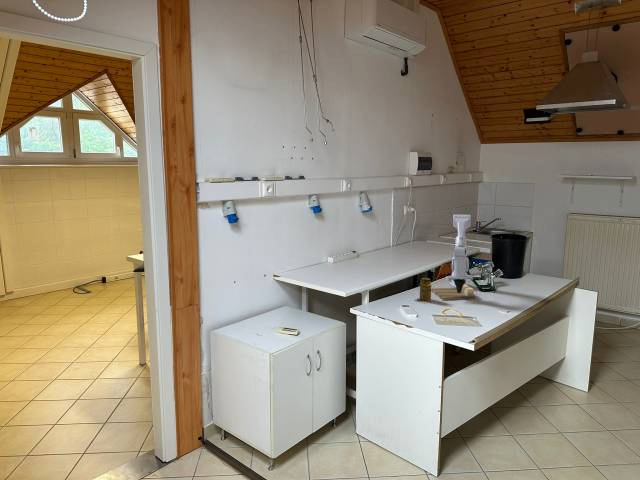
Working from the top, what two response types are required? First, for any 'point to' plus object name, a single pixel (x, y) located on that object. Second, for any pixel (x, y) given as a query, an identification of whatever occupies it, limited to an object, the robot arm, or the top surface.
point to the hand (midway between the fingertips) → (458, 292)
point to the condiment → (425, 290)
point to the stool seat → (451, 294)
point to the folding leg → (467, 290)
